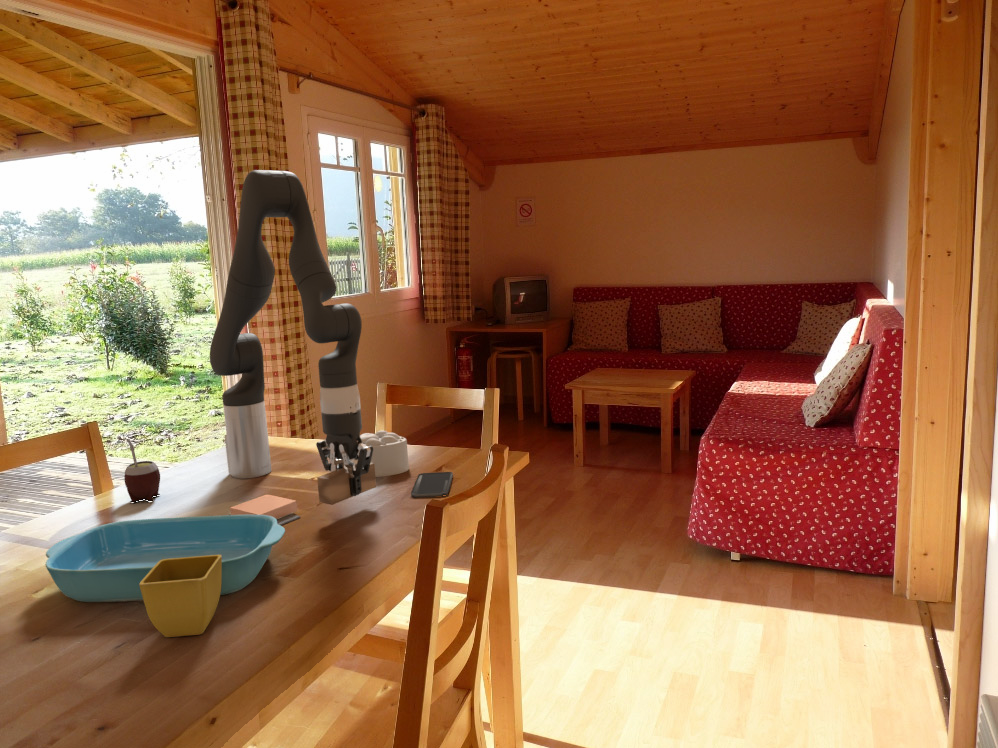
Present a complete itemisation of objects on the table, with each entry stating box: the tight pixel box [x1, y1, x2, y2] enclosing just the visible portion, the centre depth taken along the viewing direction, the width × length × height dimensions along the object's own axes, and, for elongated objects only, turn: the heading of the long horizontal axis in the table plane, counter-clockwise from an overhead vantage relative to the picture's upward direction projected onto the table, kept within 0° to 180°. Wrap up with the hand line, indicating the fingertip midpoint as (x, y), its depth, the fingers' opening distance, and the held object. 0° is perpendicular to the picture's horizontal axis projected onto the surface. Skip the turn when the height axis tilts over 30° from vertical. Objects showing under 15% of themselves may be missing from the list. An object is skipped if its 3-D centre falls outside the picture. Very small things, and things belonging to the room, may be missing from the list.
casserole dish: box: [45, 514, 286, 603], centre depth 126 cm, size 37×22×7 cm, turn 92°
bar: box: [316, 463, 377, 506], centre depth 152 cm, size 4×12×5 cm, turn 145°
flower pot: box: [139, 555, 222, 638], centre depth 108 cm, size 9×9×9 cm
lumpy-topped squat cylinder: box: [350, 429, 410, 478], centre depth 181 cm, size 10×13×9 cm
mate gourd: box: [124, 438, 161, 502], centre depth 167 cm, size 8×8×15 cm
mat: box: [228, 513, 301, 526], centre depth 153 cm, size 14×8×1 cm, turn 55°
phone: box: [410, 471, 454, 499], centre depth 168 cm, size 8×1×15 cm
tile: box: [229, 494, 298, 519], centre depth 153 cm, size 9×2×9 cm
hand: (348, 493), depth 153 cm, fingers closed on bar, 3 cm apart
